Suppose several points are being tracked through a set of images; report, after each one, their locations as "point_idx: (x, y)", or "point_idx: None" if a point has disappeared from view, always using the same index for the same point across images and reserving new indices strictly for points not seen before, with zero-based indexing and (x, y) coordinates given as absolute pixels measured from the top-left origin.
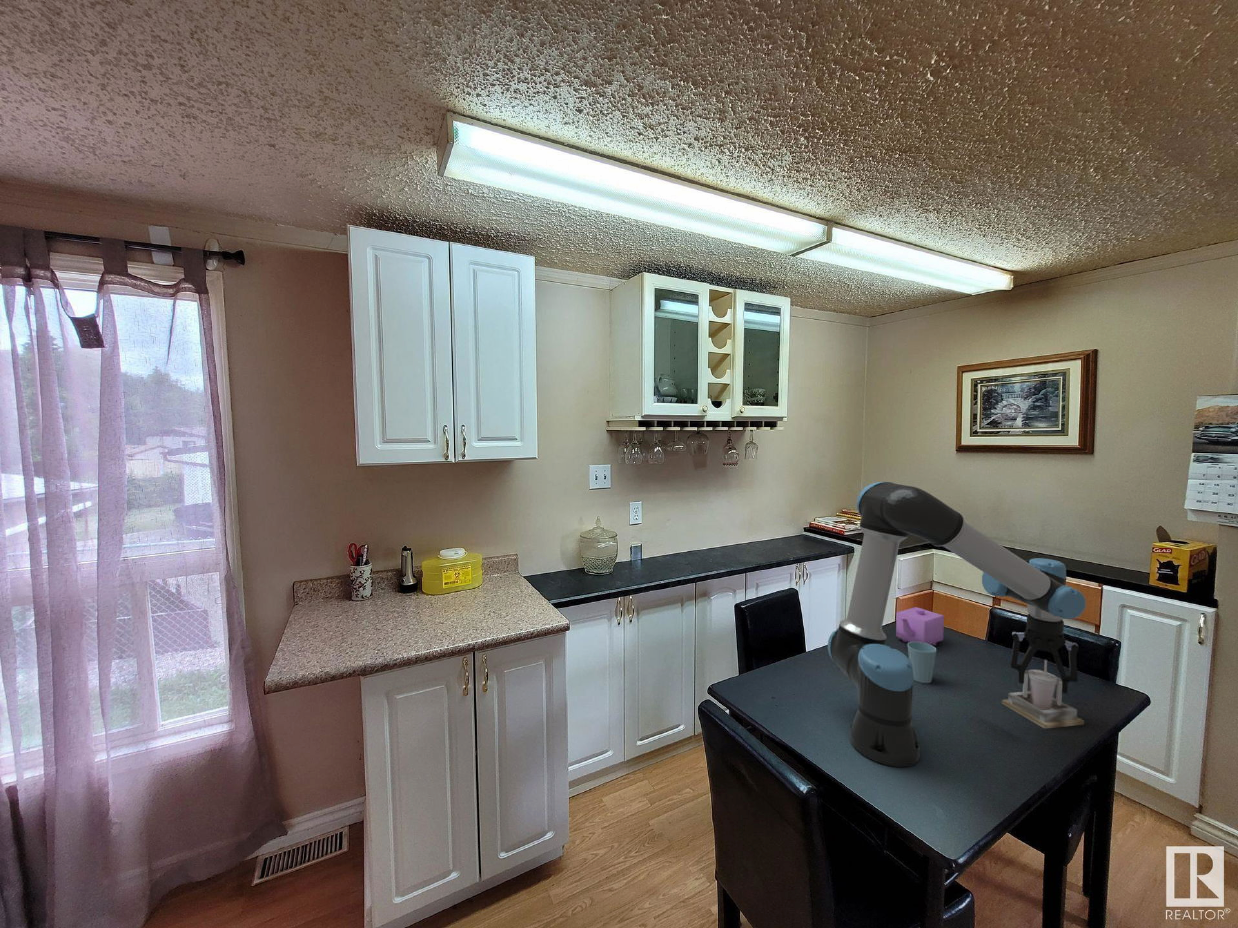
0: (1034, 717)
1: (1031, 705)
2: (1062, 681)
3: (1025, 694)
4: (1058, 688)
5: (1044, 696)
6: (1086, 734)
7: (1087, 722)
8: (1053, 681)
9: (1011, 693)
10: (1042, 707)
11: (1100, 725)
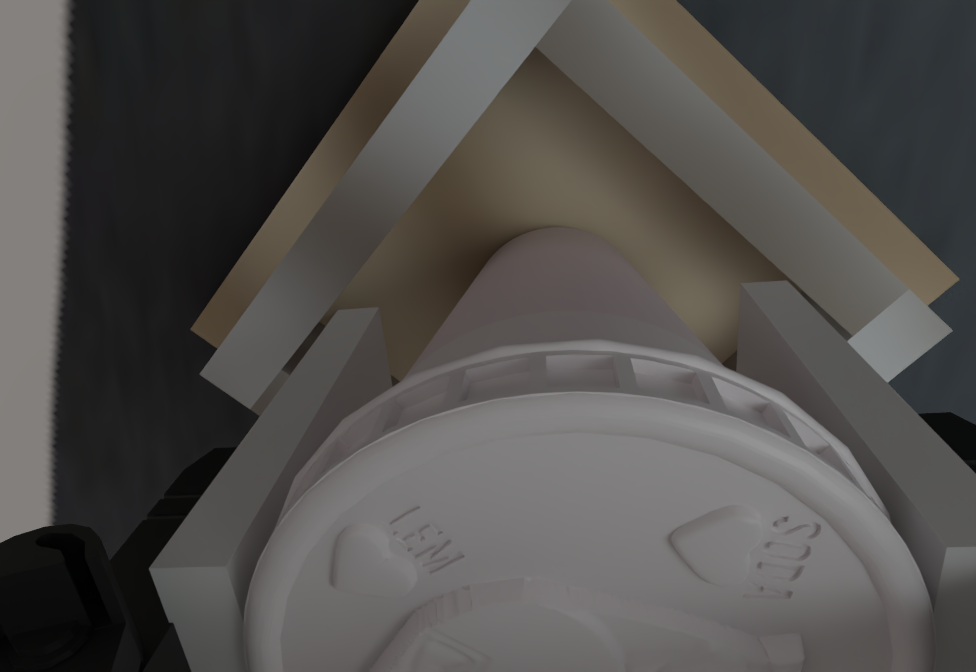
0: (632, 20)
1: (690, 97)
2: (162, 614)
3: (774, 298)
4: (292, 449)
5: (527, 276)
6: (154, 79)
7: (193, 376)
8: (321, 476)
9: (910, 344)
10: (546, 239)
11: (106, 387)
